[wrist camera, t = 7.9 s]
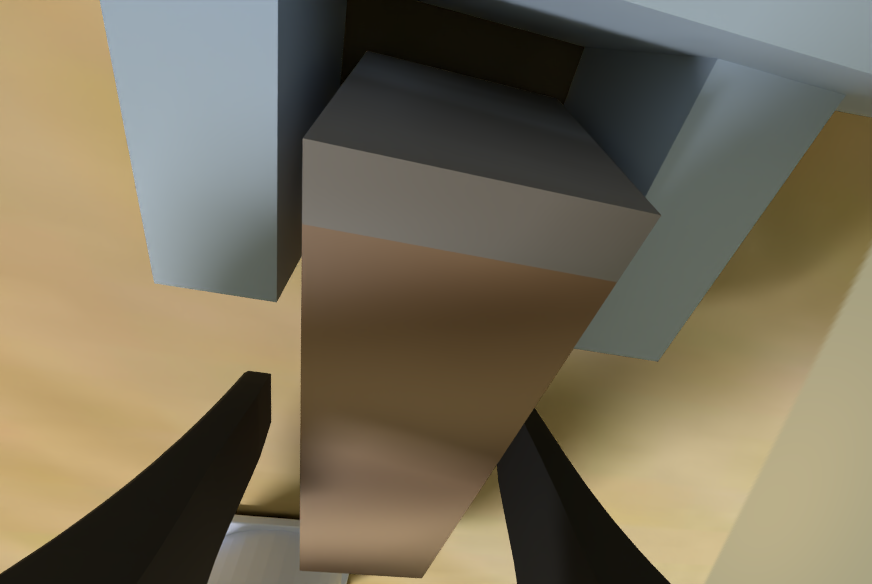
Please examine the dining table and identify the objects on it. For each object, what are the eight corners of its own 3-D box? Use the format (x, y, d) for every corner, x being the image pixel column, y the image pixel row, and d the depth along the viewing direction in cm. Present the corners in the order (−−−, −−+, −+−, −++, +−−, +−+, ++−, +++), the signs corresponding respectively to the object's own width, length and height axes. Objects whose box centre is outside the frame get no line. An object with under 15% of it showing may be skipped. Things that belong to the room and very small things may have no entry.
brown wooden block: (424, 440, 17) (421, 578, 13) (330, 429, 17) (299, 570, 13) (556, 98, 8) (661, 214, 5) (367, 50, 8) (302, 138, 4)
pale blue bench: (670, 267, 13) (884, 468, 7) (128, 161, 10) (-249, 327, 5) (818, 30, 9) (1501, 25, 3) (56, -206, 7) (-1869, -1463, 1)
